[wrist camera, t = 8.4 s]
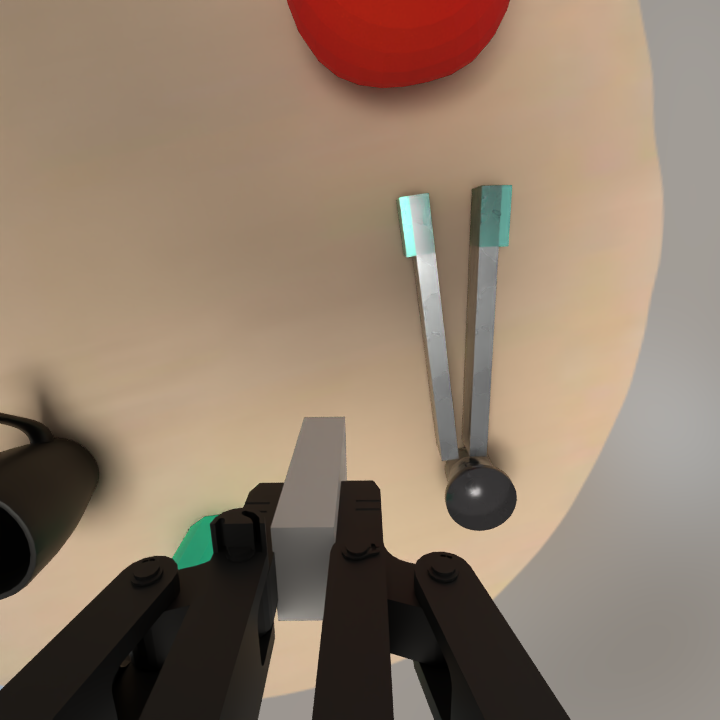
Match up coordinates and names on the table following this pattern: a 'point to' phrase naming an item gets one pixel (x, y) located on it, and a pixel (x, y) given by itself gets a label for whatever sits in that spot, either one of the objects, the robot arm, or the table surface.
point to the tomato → (396, 37)
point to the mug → (39, 500)
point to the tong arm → (430, 315)
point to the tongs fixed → (481, 373)
